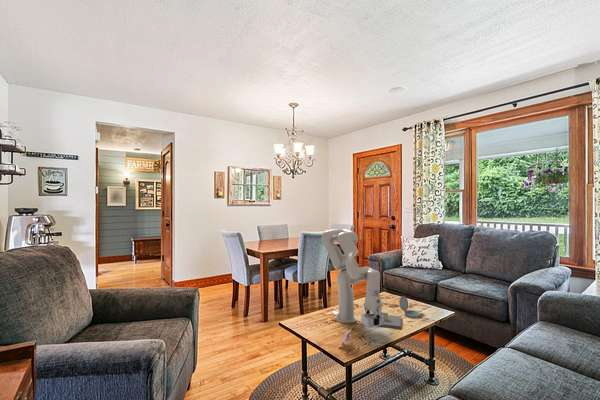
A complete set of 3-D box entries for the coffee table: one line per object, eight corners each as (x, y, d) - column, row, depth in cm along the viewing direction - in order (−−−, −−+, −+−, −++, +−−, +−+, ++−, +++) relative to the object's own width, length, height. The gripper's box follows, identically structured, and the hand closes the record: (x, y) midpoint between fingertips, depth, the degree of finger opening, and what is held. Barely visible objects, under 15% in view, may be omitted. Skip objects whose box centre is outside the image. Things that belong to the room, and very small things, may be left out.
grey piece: (366, 324, 178) (366, 314, 179) (369, 314, 193) (369, 305, 194) (400, 328, 171) (400, 318, 171) (401, 318, 186) (401, 309, 186)
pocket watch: (405, 294, 201) (426, 299, 190) (406, 310, 201) (426, 316, 189) (397, 297, 195) (418, 303, 183) (397, 313, 195) (418, 320, 183)
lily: (349, 340, 160) (340, 325, 160) (365, 338, 152) (356, 322, 152) (338, 355, 151) (329, 339, 152) (355, 354, 143) (345, 337, 144)
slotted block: (368, 328, 162) (368, 319, 162) (360, 322, 168) (360, 314, 168) (383, 324, 166) (384, 316, 166) (376, 319, 173) (376, 311, 172)
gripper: (388, 295, 160) (387, 327, 161) (368, 286, 176) (368, 315, 177) (377, 297, 157) (376, 329, 158) (358, 287, 173) (358, 317, 174)
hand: (372, 321), depth 167 cm, fingers closed on slotted block, 7 cm apart
